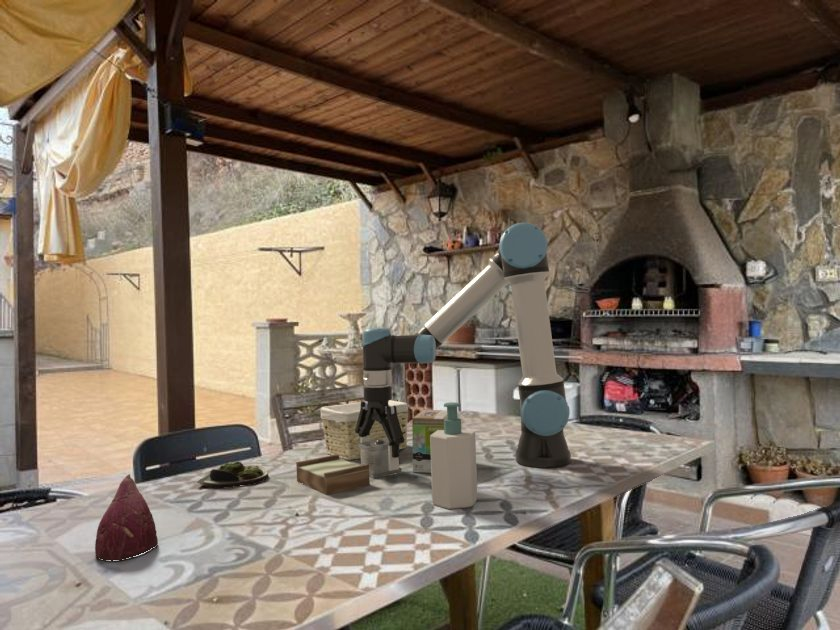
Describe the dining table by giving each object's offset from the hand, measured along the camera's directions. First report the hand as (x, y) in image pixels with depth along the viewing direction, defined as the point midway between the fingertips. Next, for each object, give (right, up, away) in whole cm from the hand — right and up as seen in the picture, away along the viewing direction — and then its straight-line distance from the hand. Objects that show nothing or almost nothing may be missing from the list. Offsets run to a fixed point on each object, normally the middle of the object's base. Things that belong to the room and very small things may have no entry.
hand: (379, 464), depth 161 cm
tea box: (+15, -2, +5) cm, 16 cm away
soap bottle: (+19, -2, -27) cm, 33 cm away
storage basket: (-6, -3, +26) cm, 27 cm away
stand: (-11, -2, -9) cm, 14 cm away
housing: (0, -2, 0) cm, 2 cm away
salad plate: (-38, -4, -2) cm, 39 cm away
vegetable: (-43, -4, -50) cm, 66 cm away
